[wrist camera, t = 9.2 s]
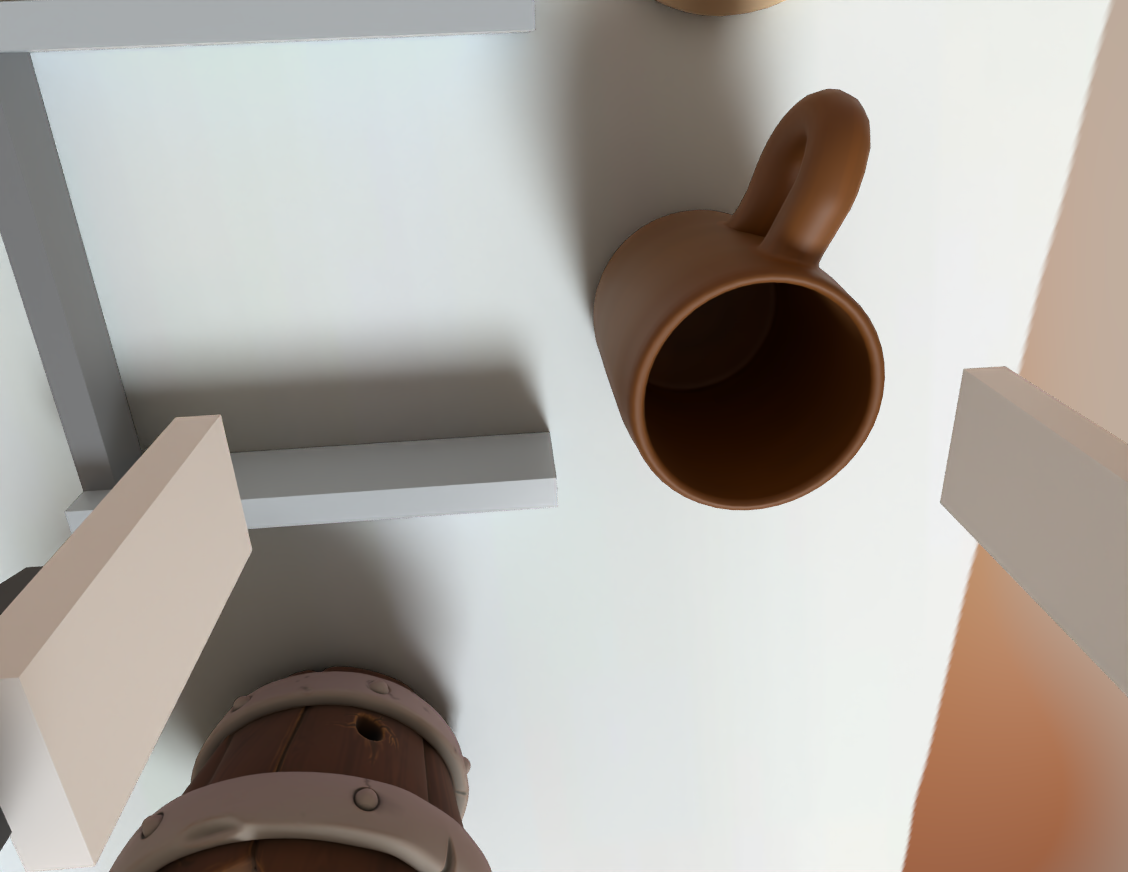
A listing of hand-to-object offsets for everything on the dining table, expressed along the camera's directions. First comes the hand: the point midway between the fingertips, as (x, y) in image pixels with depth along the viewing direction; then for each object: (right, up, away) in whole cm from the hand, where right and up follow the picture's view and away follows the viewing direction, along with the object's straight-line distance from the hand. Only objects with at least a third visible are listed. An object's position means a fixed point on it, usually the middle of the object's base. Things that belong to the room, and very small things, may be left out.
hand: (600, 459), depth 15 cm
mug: (+5, +7, +16) cm, 18 cm away
